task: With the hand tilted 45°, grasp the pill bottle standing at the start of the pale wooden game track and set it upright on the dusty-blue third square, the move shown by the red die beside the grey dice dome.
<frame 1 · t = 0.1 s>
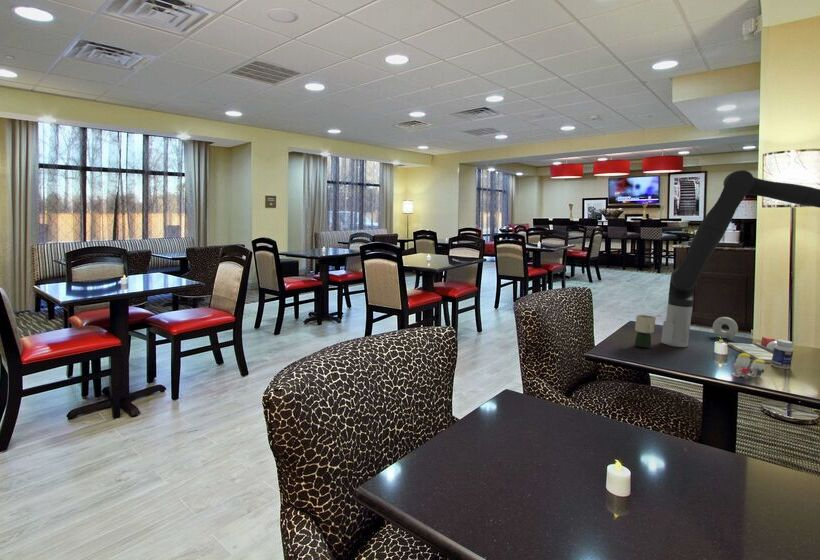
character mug: (642, 347, 199), on the table
donut: (723, 338, 219), on the table
game track: (755, 354, 196), on the table
pill bottle: (780, 367, 181), on the table
toy figures: (746, 376, 168), on the table
dice dome: (771, 350, 202), on the table
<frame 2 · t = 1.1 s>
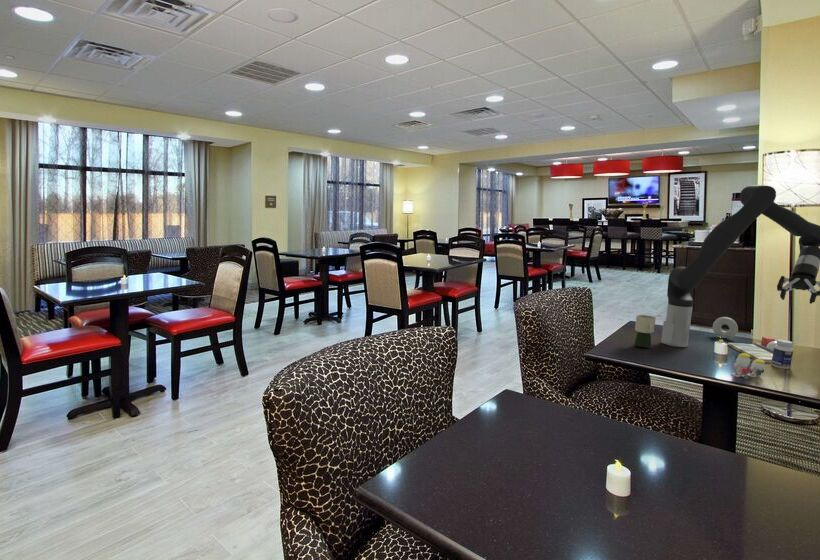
hand: (796, 300, 185), 24 cm above the table, tool tilted 45°, fingers open, 8 cm apart
nothing on the table moved.
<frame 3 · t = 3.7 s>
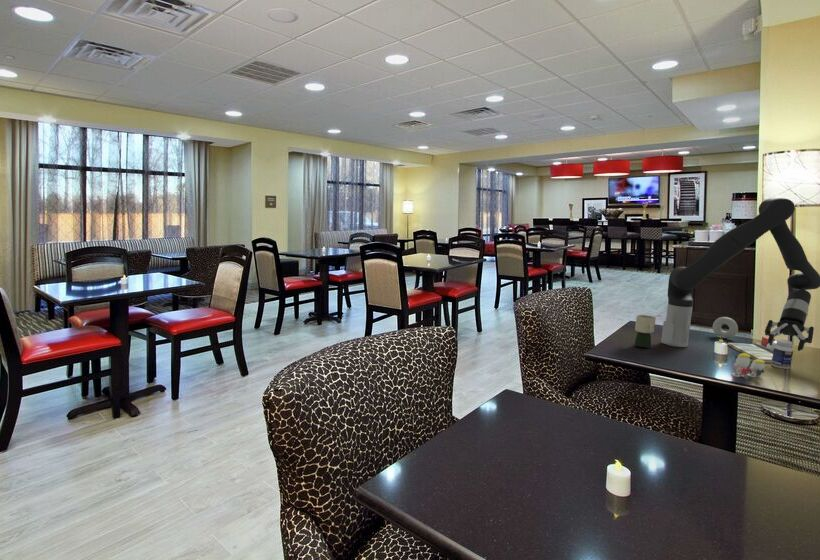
hand: (784, 346, 180), 7 cm above the table, tool tilted 45°, fingers open, 8 cm apart
nothing on the table moved.
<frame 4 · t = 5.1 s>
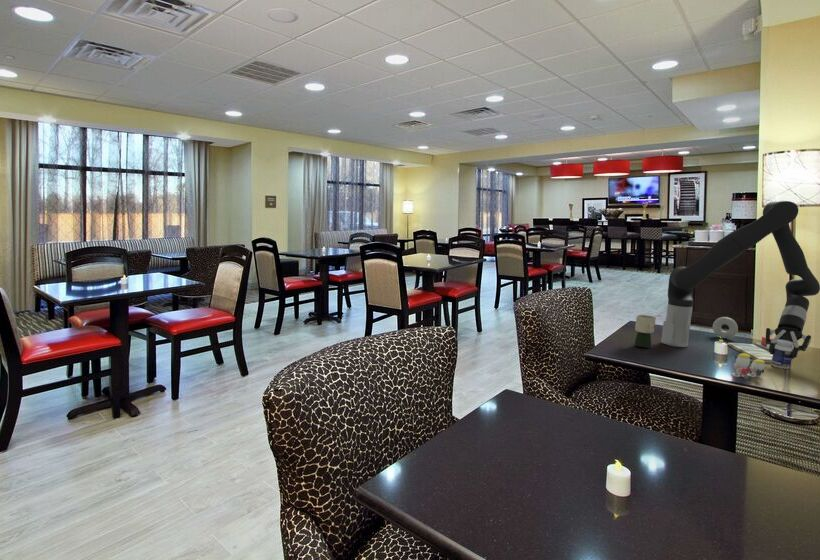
hand: (781, 355, 179), 5 cm above the table, tool tilted 45°, fingers closed on pill bottle, 5 cm apart
pill bottle: (780, 367, 181), on the table, touching gripper
everything else where it was.
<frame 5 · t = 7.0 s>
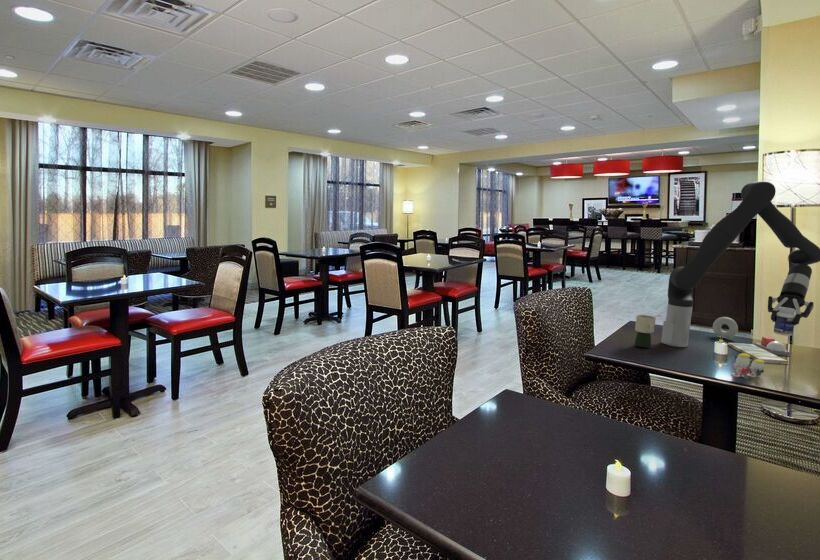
hand: (784, 322, 178), 17 cm above the table, tool tilted 45°, fingers closed on pill bottle, 5 cm apart
pill bottle: (782, 334, 180), point 12 cm above the table, touching gripper
everything else where it was.
when the fingers open (7 cm above the table, at t = 11.1 s): pill bottle drops 1 cm, resting on game track.
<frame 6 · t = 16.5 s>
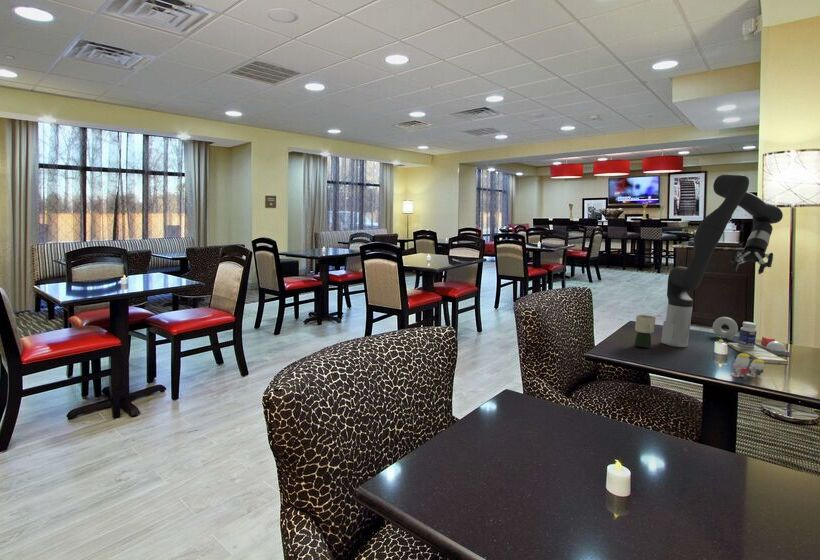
hand: (747, 271, 200), 33 cm above the table, tool tilted 45°, fingers open, 8 cm apart
pill bottle: (745, 346, 203), point 1 cm above the table, touching game track
everything else where it was.
at the end: pill bottle 0.2 cm from the target spot on the game track, point 1.1 cm above the game track's base; pill bottle tilted 0°; the gripper is holding nothing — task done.
